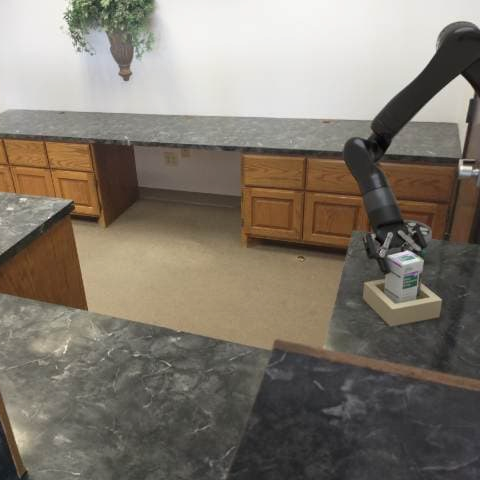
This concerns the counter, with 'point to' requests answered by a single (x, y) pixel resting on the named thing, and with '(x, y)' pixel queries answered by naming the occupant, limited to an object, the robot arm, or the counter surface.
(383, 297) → the frame
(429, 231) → the food container
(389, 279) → the syrup box
